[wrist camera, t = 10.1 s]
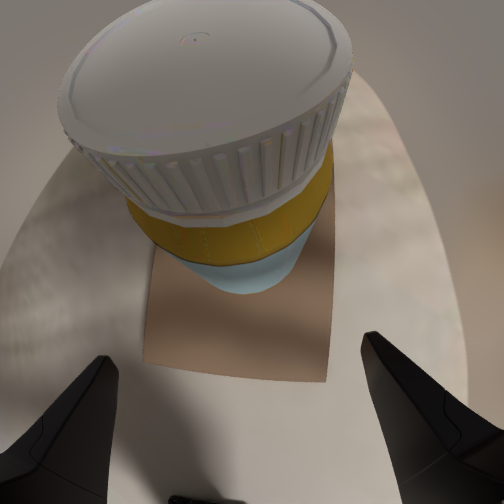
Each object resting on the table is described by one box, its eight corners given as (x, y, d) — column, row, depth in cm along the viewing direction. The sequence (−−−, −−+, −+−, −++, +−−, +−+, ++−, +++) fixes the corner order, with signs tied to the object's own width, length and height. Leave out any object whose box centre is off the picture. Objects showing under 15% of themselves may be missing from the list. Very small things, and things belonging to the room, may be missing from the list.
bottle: (172, 241, 19) (19, 88, 5) (247, 174, 20) (220, -33, 5) (243, 318, 18) (141, 302, 3) (320, 242, 19) (430, 55, 4)
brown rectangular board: (321, 378, 18) (325, 382, 16) (151, 359, 19) (142, 361, 17) (328, 144, 22) (331, 134, 21) (186, 137, 23) (182, 127, 21)
